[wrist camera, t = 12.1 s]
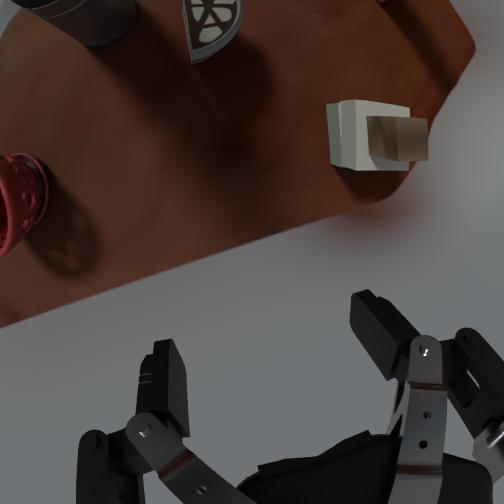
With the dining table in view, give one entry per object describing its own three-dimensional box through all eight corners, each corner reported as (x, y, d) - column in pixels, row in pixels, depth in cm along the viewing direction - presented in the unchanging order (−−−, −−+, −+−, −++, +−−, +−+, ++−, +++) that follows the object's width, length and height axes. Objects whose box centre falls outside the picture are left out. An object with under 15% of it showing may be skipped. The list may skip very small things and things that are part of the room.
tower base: (325, 104, 35) (337, 103, 32) (375, 105, 36) (390, 105, 33) (329, 163, 39) (342, 167, 36) (378, 160, 40) (392, 164, 37)
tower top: (340, 101, 32) (355, 99, 28) (392, 107, 33) (409, 107, 29) (341, 165, 36) (356, 170, 32) (391, 165, 37) (408, 170, 33)
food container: (240, 66, 31) (255, 46, 22) (193, 74, 30) (193, 55, 21) (225, -6, 25) (235, -40, 16) (181, 1, 25) (178, -33, 16)
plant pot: (21, 130, 27) (-28, 138, 16) (70, 185, 33) (28, 209, 22) (-13, 194, 29) (-57, 218, 18) (31, 245, 35) (-6, 282, 24)
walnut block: (366, 115, 29) (396, 116, 24) (396, 117, 30) (427, 119, 24) (368, 154, 31) (398, 161, 26) (398, 153, 32) (428, 160, 26)
